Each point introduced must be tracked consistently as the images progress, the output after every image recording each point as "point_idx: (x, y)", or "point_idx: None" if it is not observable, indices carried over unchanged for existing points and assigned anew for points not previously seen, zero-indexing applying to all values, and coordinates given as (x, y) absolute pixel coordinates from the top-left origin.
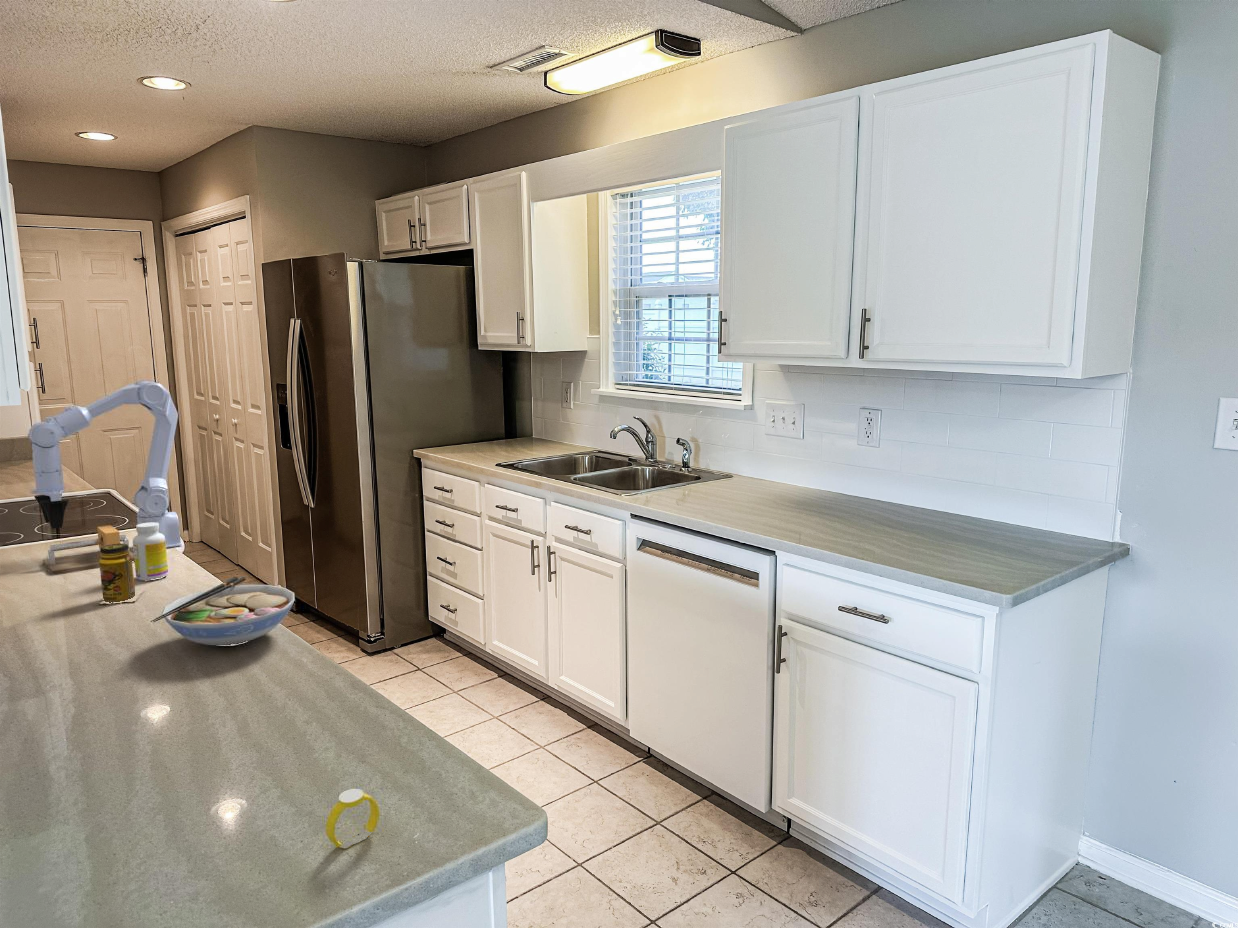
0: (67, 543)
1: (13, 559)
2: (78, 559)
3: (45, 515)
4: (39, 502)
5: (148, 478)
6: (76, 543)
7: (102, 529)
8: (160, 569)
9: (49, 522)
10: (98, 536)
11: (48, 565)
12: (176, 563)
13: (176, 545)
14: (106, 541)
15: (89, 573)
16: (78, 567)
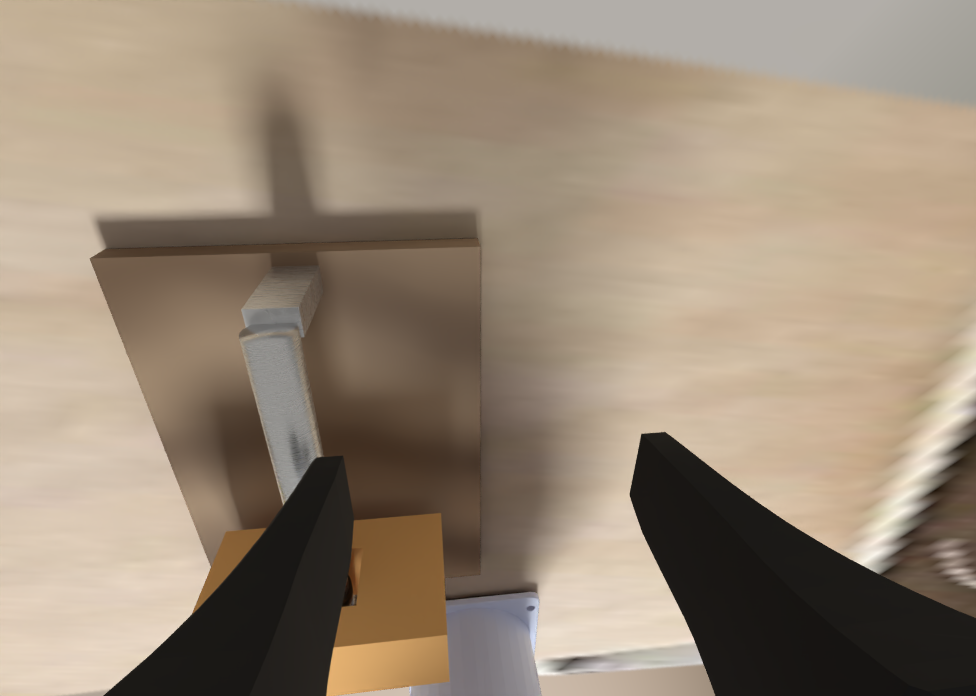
0: (274, 442)
1: (745, 92)
2: (348, 406)
3: (682, 491)
4: (815, 622)
5: None
6: (277, 481)
7: (334, 654)
8: None
9: (328, 493)
10: (430, 576)
11: (283, 256)
12: (106, 671)
13: (409, 687)
14: (195, 610)
15: (62, 412)
16: (141, 388)
